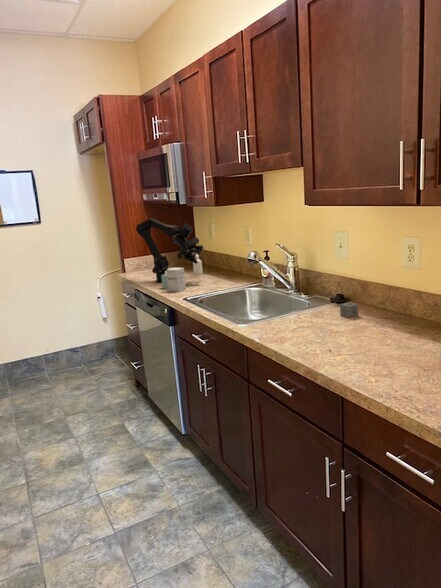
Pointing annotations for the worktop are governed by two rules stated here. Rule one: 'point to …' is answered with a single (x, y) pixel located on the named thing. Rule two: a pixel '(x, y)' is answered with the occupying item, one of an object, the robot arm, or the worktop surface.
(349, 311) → the dice cube
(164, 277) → the teal block
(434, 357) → the worktop surface
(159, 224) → the robot arm
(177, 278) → the supplement box
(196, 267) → the eye dropper bottle
